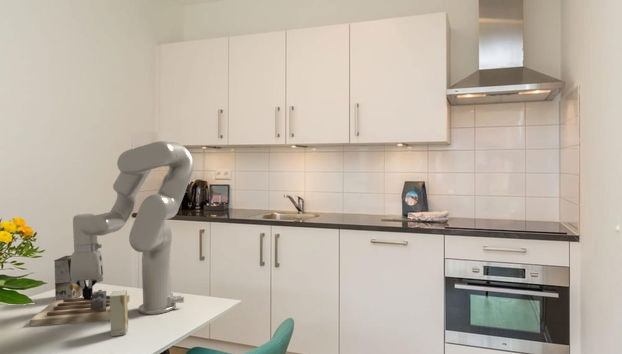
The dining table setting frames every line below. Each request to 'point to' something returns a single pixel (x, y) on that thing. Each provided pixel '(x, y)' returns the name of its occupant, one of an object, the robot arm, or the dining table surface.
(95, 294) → the switch tab far
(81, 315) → the wooden slatted tray
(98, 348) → the dining table surface
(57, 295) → the coffee box
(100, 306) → the switch tab near
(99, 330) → the dining table surface
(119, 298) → the skincare box
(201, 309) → the dining table surface
